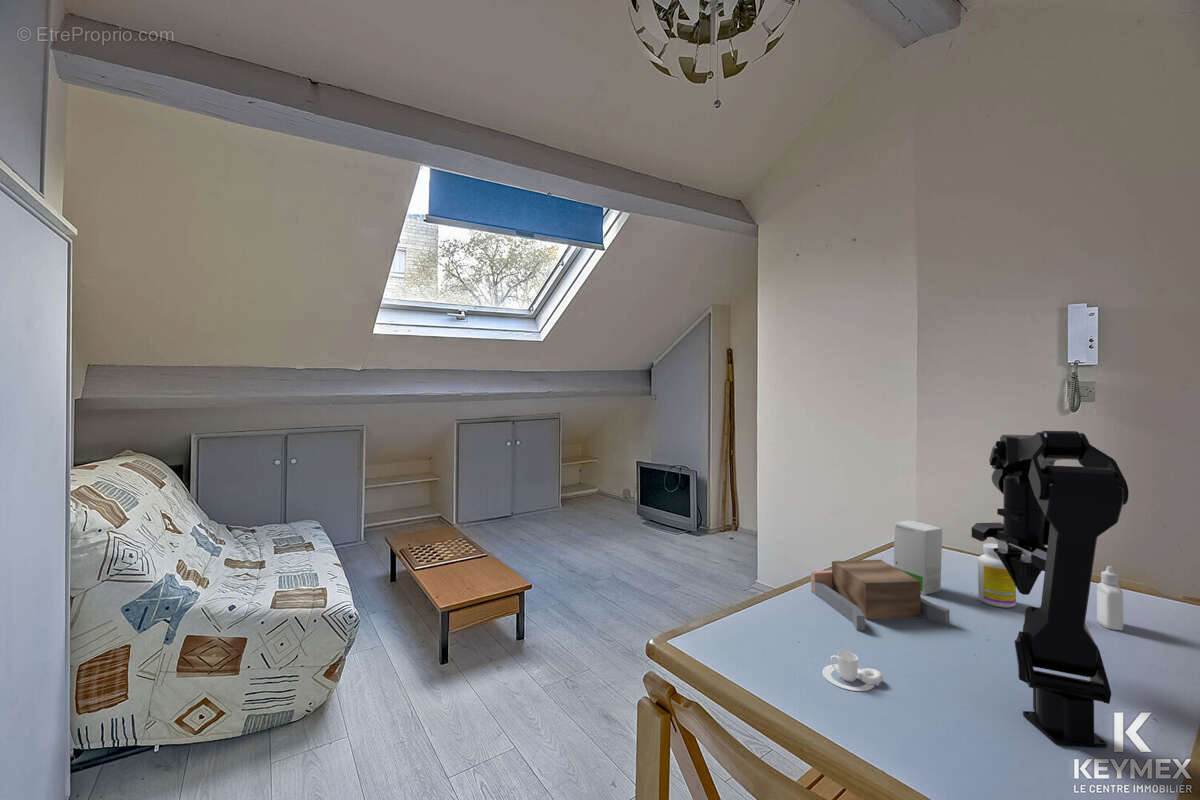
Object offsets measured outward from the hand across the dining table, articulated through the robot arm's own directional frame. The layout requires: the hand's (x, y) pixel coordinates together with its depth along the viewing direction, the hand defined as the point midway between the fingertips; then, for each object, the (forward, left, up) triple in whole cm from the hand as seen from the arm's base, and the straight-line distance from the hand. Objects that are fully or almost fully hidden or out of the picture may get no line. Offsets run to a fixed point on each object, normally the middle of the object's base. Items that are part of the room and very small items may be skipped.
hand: (1024, 593), depth 87 cm
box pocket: (+22, +16, -12) cm, 30 cm away
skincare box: (+35, 0, -13) cm, 37 cm away
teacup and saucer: (-10, +31, -13) cm, 35 cm away
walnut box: (+24, +15, -13) cm, 31 cm away
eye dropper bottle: (+17, -28, -13) cm, 35 cm away
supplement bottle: (+27, -13, -13) cm, 32 cm away
